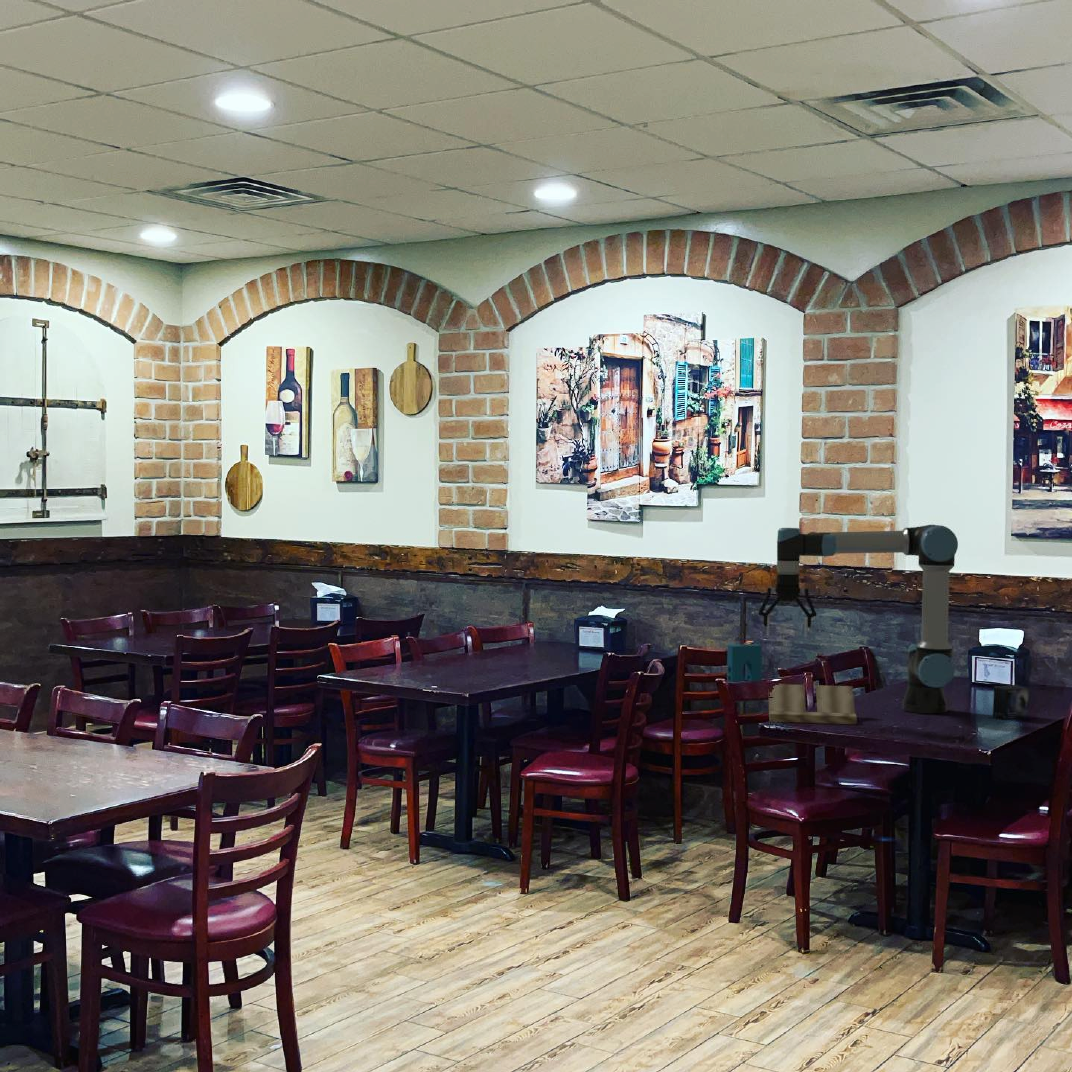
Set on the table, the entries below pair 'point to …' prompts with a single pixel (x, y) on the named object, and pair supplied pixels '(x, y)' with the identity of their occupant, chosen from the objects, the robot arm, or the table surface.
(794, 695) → the plank far
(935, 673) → the robot arm
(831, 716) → the laid floor
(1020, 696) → the small box
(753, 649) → the block
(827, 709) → the plank near
